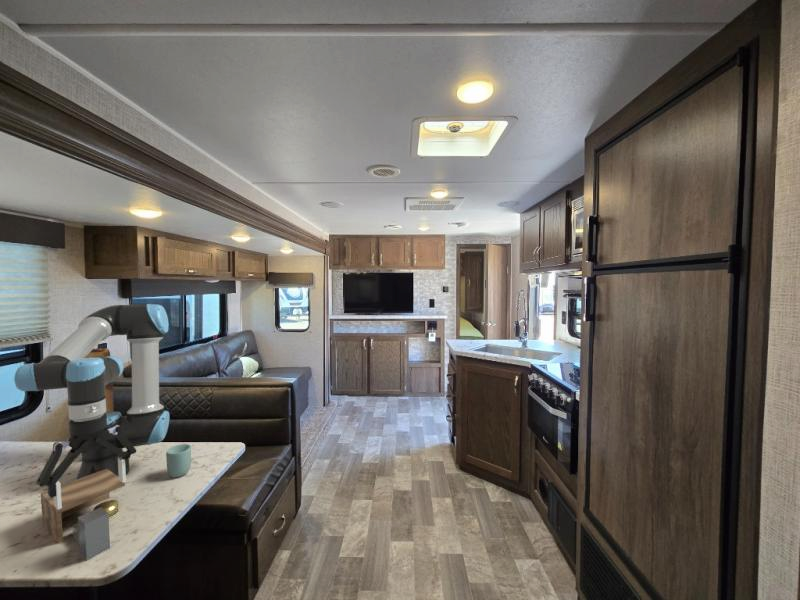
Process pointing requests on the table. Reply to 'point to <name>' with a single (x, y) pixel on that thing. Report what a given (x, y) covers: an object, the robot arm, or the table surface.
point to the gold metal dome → (109, 507)
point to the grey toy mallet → (92, 533)
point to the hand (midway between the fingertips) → (92, 493)
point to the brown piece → (77, 499)
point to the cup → (178, 460)
